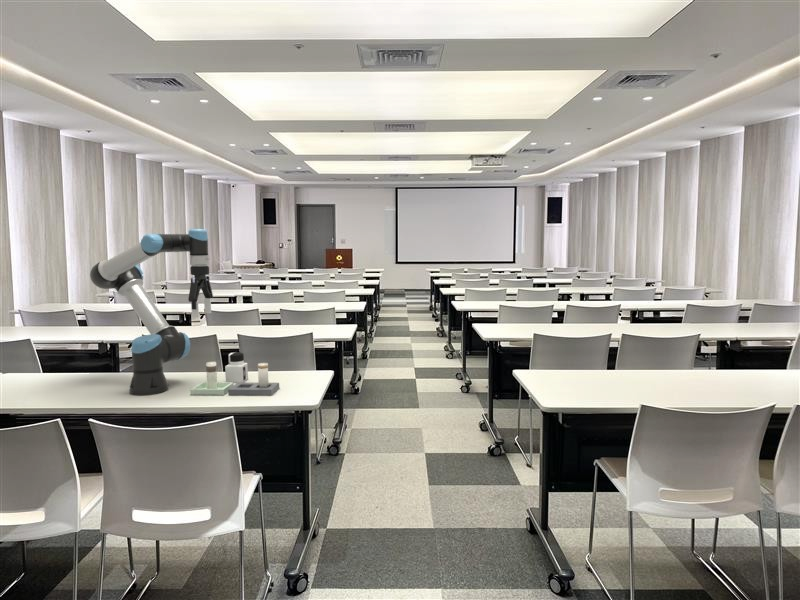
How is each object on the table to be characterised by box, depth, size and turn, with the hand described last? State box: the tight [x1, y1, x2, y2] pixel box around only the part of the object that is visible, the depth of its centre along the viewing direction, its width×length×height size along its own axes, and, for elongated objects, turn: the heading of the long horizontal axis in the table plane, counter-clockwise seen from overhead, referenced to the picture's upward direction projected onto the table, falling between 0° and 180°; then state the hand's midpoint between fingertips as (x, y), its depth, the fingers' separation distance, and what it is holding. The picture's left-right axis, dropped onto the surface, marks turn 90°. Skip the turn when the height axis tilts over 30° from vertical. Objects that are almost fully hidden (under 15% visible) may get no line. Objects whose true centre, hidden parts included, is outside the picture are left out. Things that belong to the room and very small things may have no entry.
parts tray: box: [189, 381, 235, 397], centre depth 245 cm, size 14×12×2 cm
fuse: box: [257, 362, 269, 388], centre depth 244 cm, size 4×4×12 cm
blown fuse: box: [205, 361, 218, 389], centre depth 245 cm, size 4×4×12 cm
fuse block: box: [227, 382, 280, 397], centre depth 244 cm, size 18×12×2 cm, turn 87°
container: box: [224, 351, 249, 384], centre depth 263 cm, size 8×8×13 cm
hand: (201, 315), depth 250 cm, fingers open, 13 cm apart
